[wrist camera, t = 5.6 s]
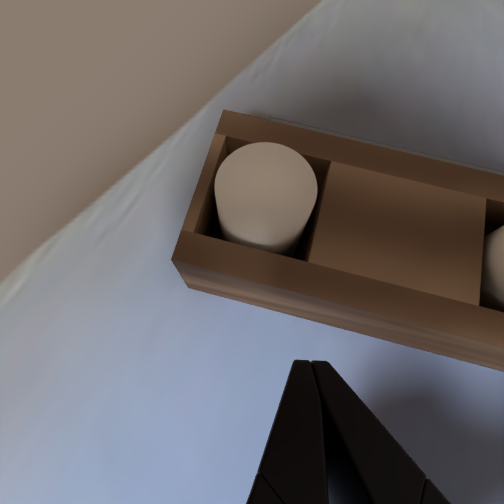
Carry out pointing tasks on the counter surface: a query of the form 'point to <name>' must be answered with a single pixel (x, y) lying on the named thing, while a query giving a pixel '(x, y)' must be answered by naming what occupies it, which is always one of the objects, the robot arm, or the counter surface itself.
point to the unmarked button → (493, 271)
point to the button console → (361, 244)
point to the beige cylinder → (265, 197)
